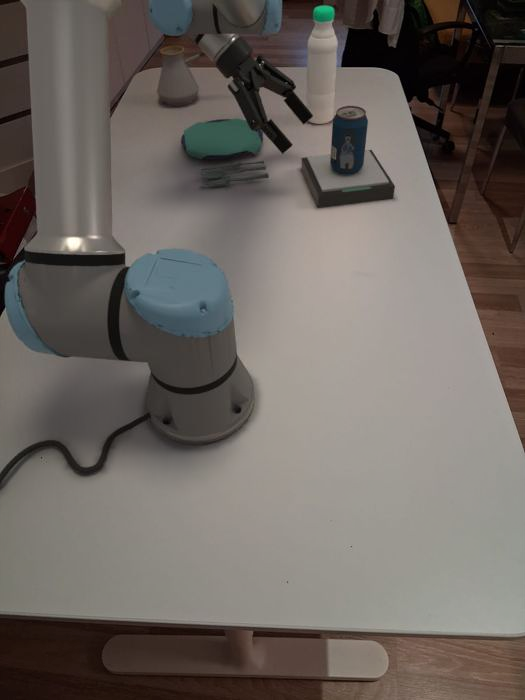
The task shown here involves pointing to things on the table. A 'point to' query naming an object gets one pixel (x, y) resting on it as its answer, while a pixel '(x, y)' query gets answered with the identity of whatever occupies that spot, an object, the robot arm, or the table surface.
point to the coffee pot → (177, 77)
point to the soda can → (348, 140)
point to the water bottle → (321, 66)
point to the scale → (346, 181)
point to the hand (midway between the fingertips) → (298, 134)
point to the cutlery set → (223, 147)
